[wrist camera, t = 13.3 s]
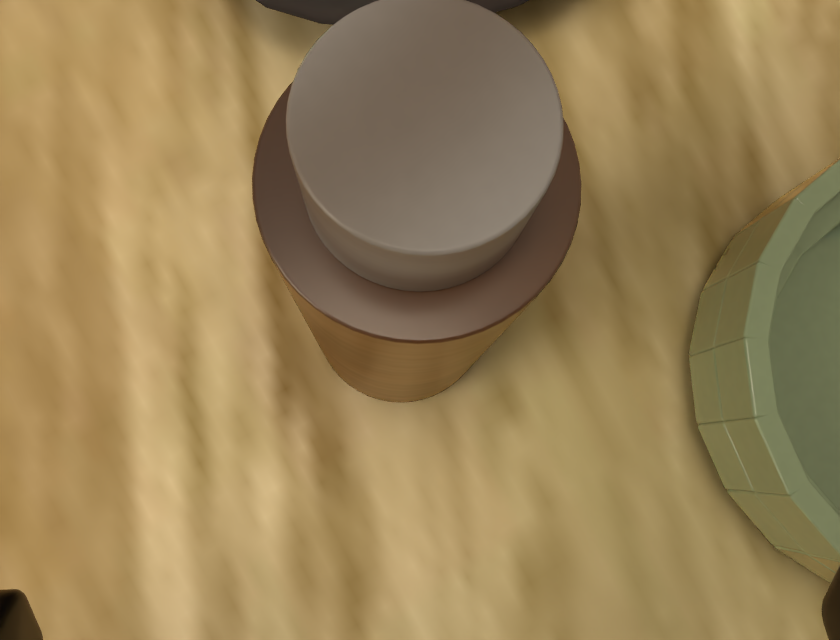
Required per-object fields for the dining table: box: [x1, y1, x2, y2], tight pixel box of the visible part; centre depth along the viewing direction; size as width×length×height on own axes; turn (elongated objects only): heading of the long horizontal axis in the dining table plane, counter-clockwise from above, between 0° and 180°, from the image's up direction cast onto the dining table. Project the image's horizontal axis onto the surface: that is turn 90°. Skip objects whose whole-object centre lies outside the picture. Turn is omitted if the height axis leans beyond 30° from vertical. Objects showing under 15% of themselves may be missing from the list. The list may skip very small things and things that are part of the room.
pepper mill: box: [252, 0, 581, 402], centre depth 16 cm, size 5×5×13 cm
